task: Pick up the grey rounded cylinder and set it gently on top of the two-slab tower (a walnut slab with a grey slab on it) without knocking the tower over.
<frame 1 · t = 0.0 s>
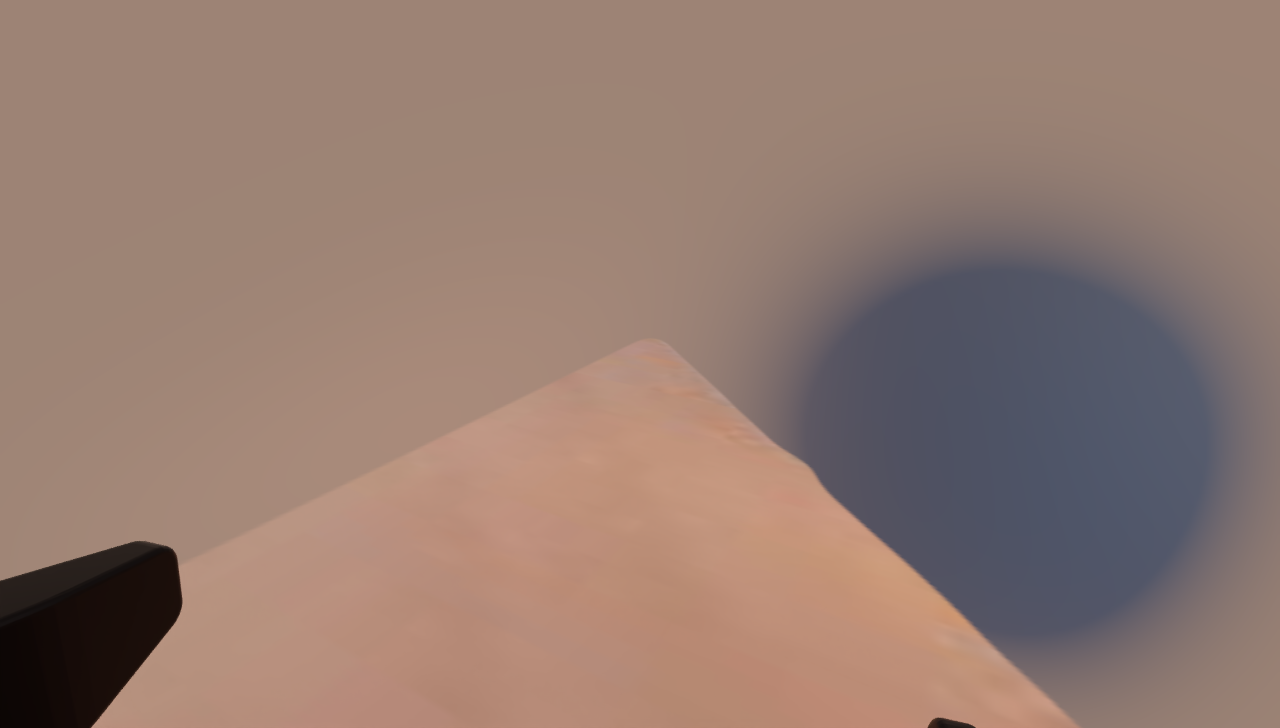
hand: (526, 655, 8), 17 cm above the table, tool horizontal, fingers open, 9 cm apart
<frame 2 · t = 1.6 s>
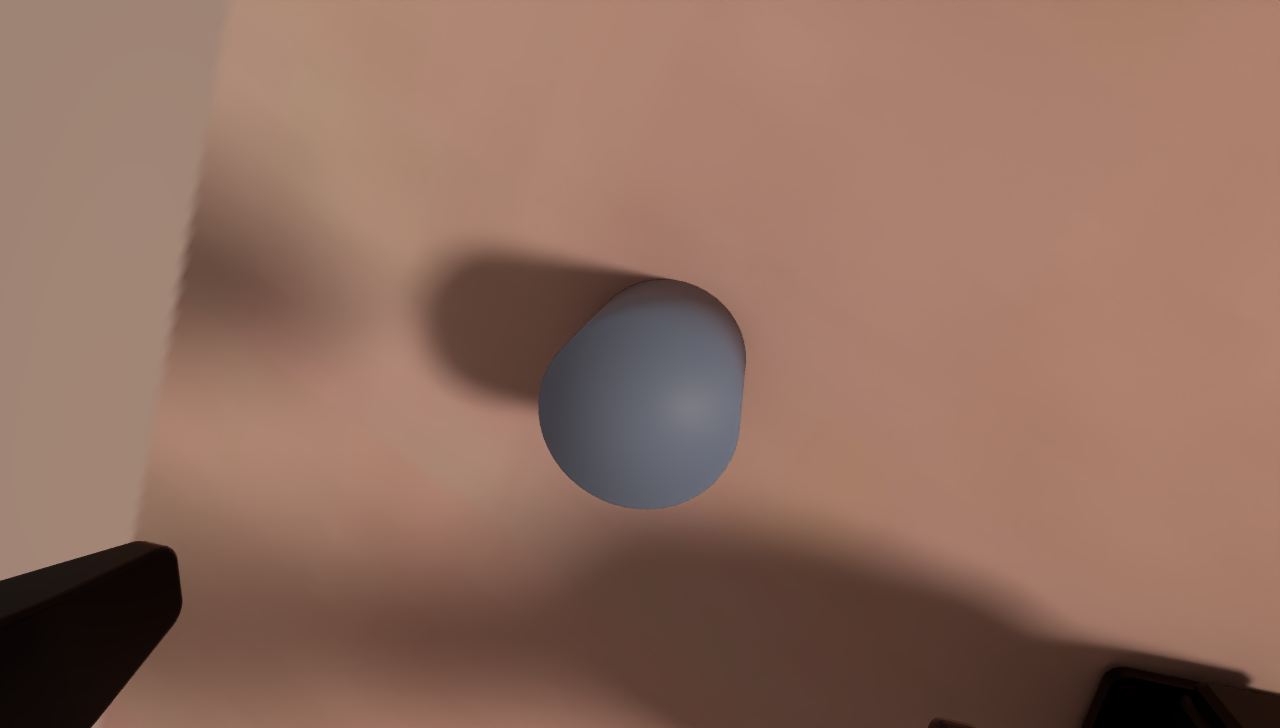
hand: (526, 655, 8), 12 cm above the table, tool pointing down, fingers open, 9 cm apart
grey rounded cylinder: (665, 358, 19), on the table
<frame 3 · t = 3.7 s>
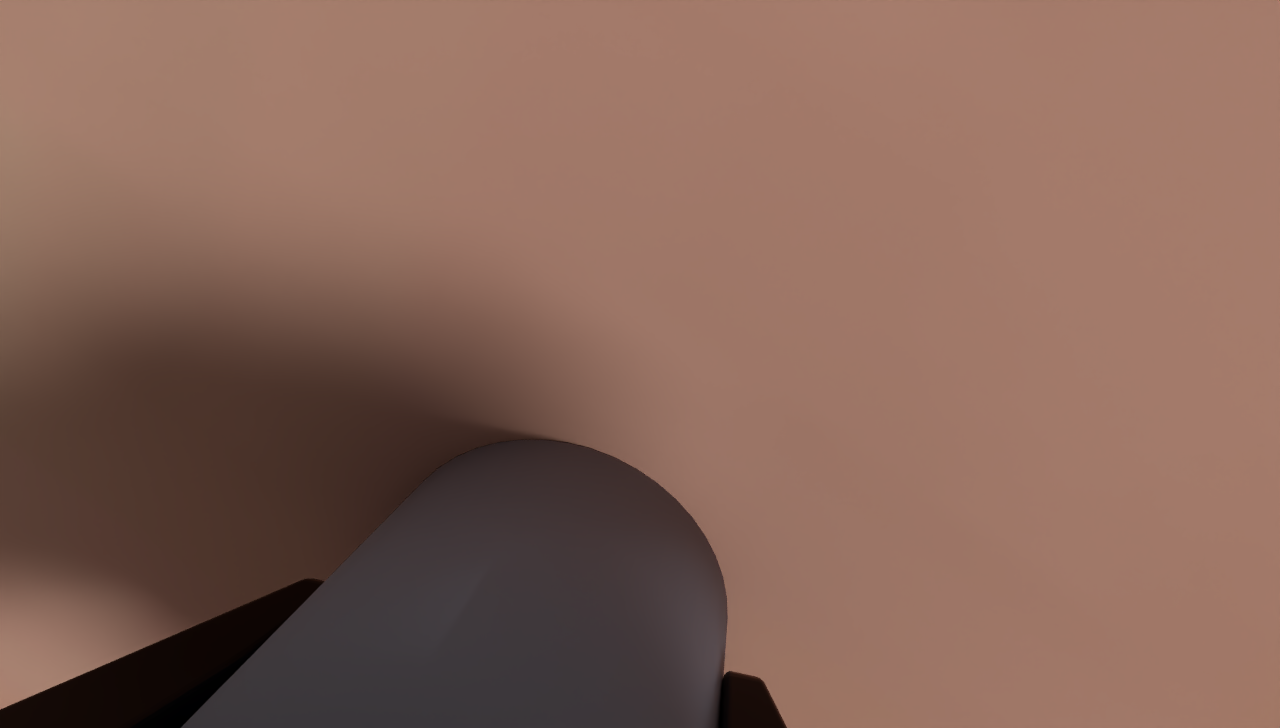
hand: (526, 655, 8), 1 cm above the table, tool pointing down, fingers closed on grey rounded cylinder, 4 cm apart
grey rounded cylinder: (552, 598, 9), on the table, touching gripper
when the fingers open (9 cm above the table, at t = 7.9 s): grey rounded cylinder drops 2 cm, resting on grey slab.
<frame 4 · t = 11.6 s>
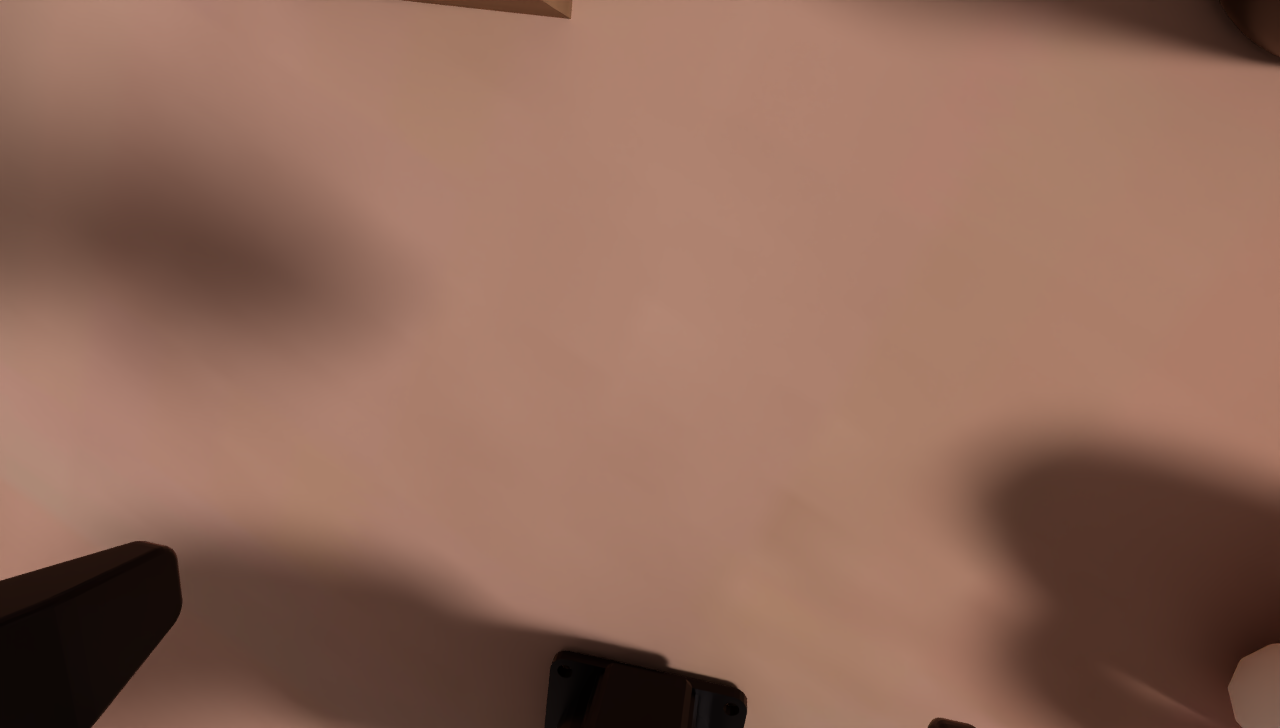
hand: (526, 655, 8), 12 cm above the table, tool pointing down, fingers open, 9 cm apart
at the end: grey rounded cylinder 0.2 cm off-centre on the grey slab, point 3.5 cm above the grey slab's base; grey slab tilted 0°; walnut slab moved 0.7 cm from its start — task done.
